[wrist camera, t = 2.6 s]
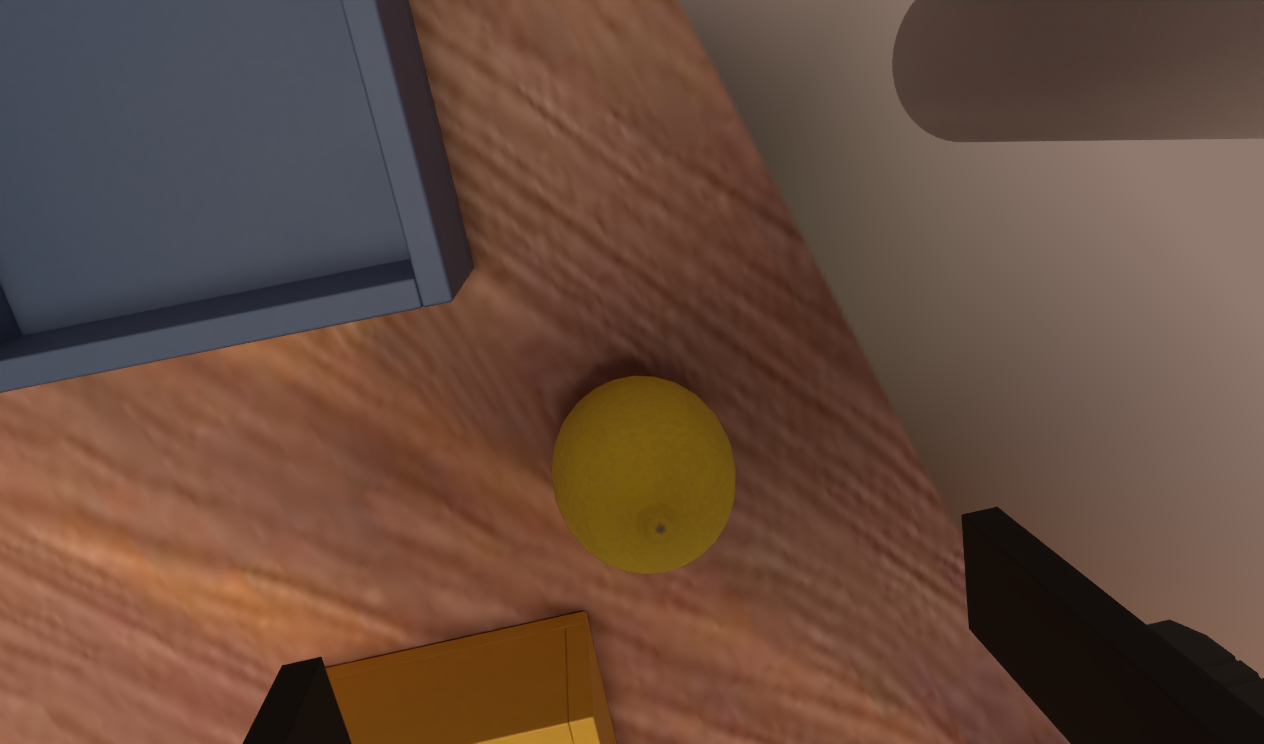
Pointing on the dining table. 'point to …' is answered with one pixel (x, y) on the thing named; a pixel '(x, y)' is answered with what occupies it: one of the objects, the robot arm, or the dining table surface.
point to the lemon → (643, 474)
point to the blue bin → (212, 178)
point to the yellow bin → (481, 690)
